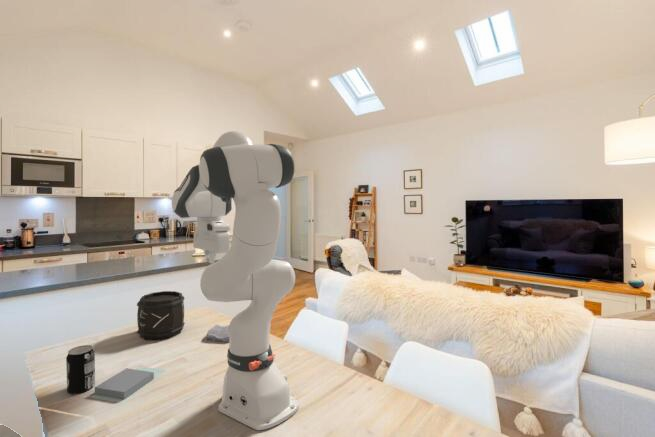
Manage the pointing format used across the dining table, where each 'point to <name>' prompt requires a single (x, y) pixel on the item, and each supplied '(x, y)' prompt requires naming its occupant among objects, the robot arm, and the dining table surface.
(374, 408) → the dining table surface
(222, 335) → the stone block
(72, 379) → the beverage can
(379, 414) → the dining table surface
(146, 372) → the slate tile
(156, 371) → the mat
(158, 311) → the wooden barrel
